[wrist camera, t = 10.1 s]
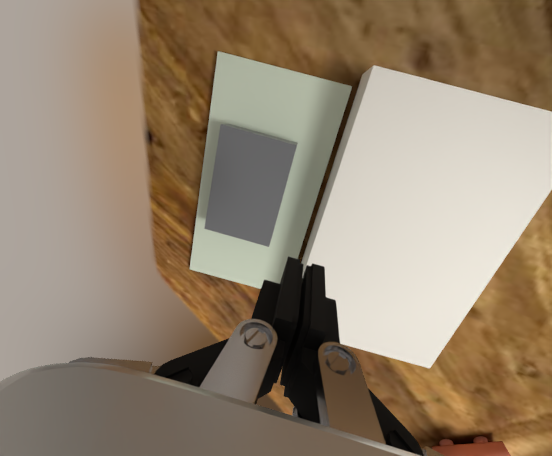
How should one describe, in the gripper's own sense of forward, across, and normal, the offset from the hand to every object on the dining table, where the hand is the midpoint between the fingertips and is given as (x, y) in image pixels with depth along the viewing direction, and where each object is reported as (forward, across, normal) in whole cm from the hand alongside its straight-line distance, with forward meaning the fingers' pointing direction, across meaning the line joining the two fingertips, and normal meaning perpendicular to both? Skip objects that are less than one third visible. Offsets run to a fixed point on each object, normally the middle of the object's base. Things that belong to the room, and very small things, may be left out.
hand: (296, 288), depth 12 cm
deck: (+14, -8, 0) cm, 16 cm away
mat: (+13, +5, 0) cm, 14 cm away
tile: (+11, +5, 0) cm, 12 cm away
